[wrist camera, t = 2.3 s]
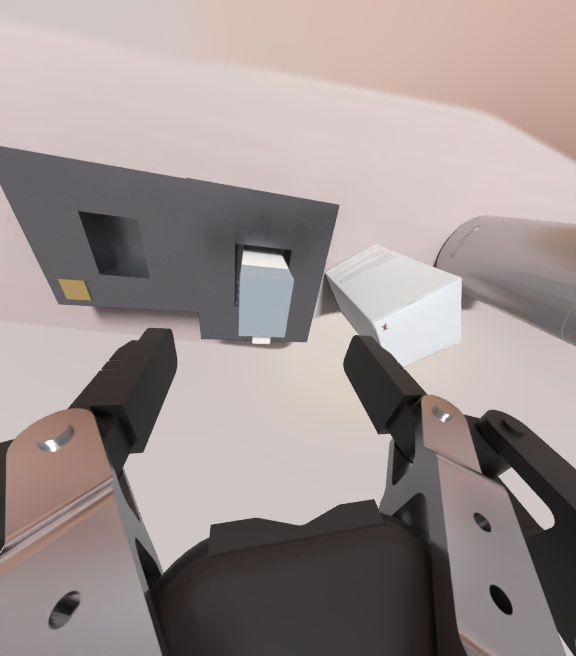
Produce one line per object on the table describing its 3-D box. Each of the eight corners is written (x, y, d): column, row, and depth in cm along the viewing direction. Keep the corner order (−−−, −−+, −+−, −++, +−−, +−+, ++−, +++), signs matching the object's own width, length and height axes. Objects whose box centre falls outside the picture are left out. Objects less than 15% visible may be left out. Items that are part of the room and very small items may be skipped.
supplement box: (341, 314, 30) (388, 377, 20) (323, 271, 26) (370, 322, 16) (388, 290, 29) (464, 343, 19) (377, 241, 25) (465, 275, 15)
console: (309, 201, 22) (339, 205, 14) (292, 302, 28) (306, 342, 21) (32, 152, 17) (-138, 120, 10) (86, 288, 23) (8, 333, 16)
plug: (278, 248, 18) (294, 279, 12) (273, 298, 21) (283, 346, 14) (244, 244, 18) (240, 275, 11) (242, 295, 20) (238, 345, 14)
